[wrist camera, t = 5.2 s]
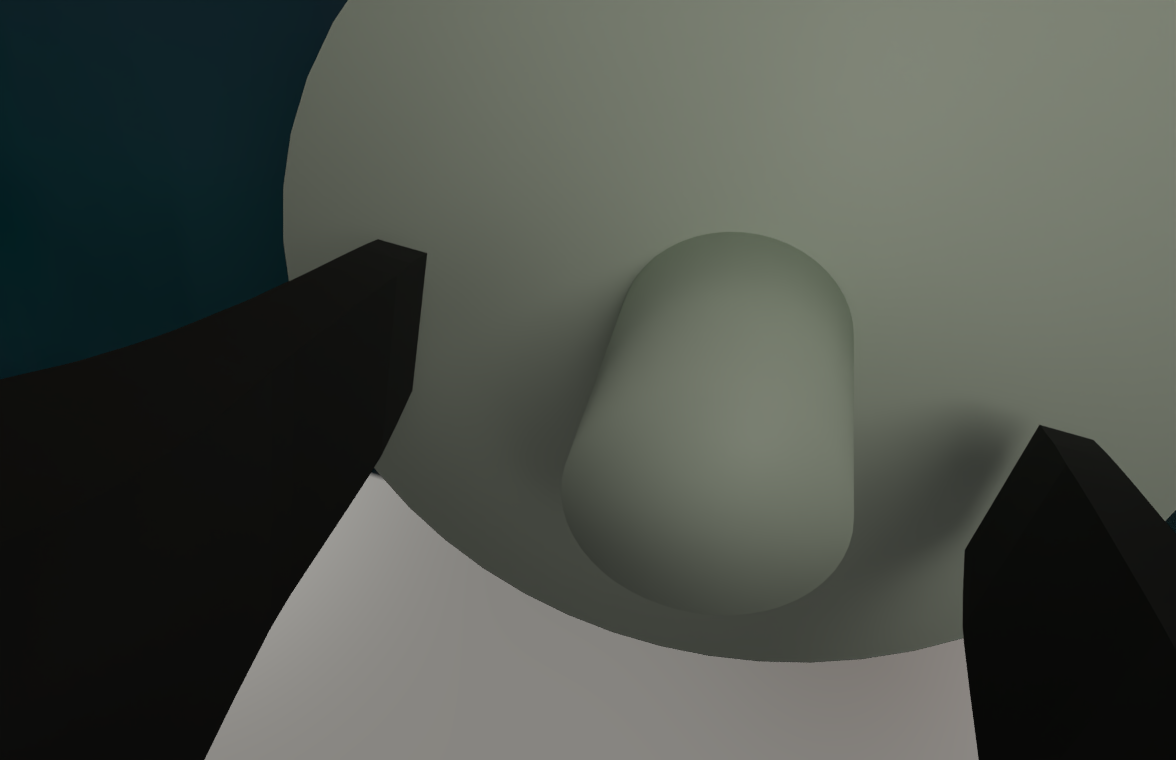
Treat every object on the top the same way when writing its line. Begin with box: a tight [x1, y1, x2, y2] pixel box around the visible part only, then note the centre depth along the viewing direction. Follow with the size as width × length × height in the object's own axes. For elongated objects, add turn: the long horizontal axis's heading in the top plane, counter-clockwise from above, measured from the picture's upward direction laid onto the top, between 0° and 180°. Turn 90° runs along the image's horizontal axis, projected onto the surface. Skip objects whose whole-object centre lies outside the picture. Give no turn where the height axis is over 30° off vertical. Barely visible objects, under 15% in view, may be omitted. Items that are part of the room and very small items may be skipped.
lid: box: [283, 0, 1176, 662], centre depth 11 cm, size 12×12×4 cm
